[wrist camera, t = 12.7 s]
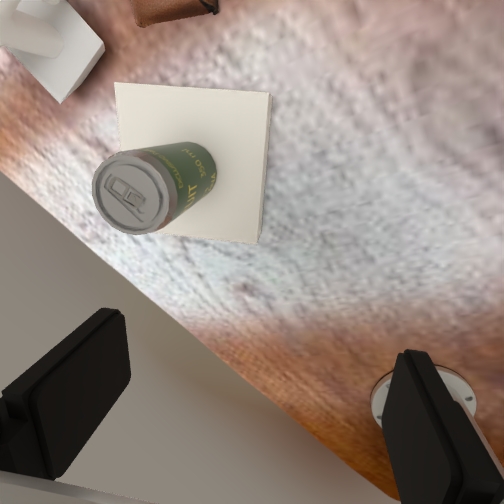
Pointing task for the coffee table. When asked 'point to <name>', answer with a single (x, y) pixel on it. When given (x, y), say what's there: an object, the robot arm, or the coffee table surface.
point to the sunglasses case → (170, 10)
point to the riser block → (215, 142)
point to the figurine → (50, 42)
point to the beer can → (152, 185)
